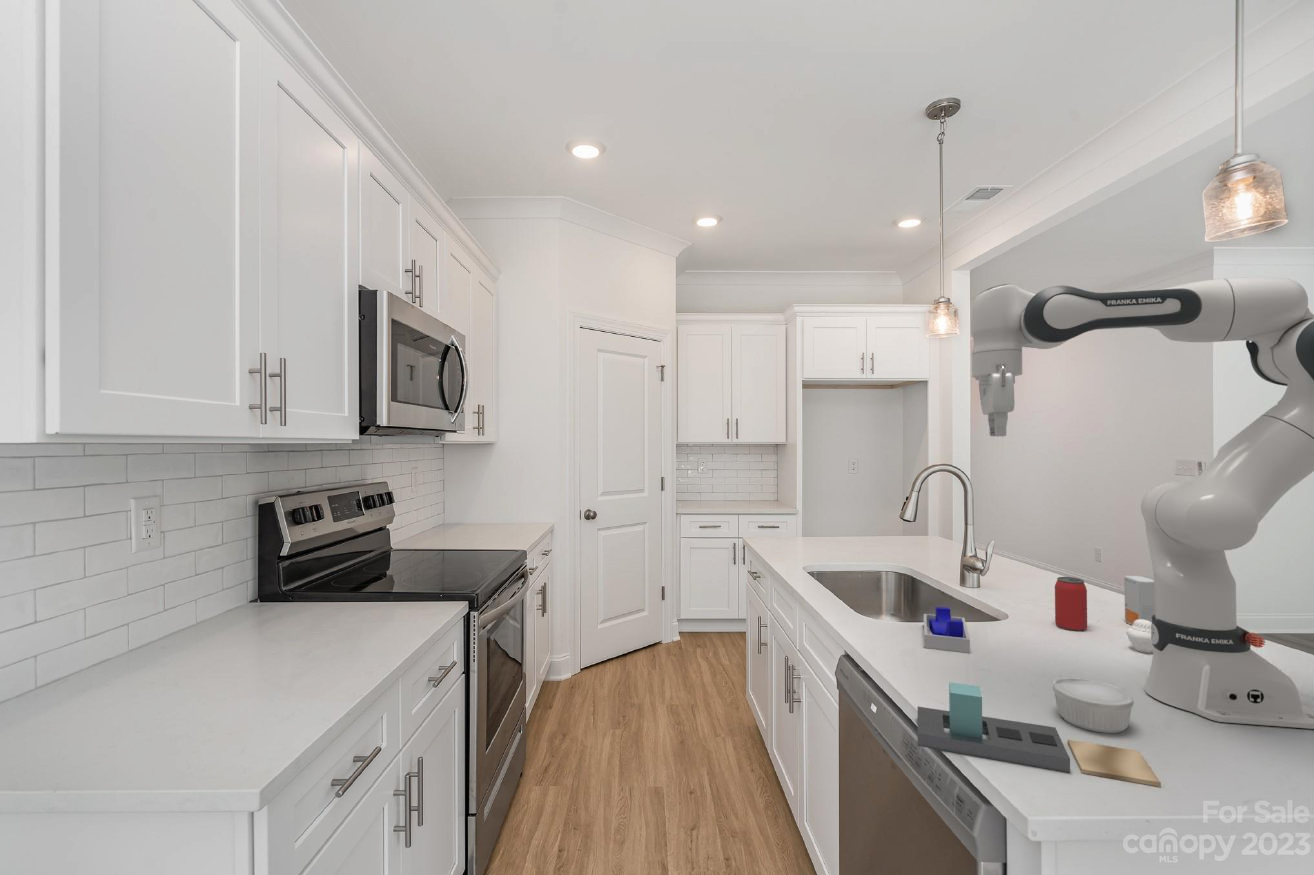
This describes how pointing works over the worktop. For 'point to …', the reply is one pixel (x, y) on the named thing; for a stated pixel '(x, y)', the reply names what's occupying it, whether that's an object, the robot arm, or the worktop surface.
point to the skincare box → (1139, 598)
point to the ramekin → (1093, 704)
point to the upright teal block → (965, 710)
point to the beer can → (1071, 604)
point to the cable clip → (945, 624)
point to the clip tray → (946, 638)
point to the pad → (1112, 763)
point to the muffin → (1141, 636)
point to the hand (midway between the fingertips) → (997, 436)
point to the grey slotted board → (996, 740)
